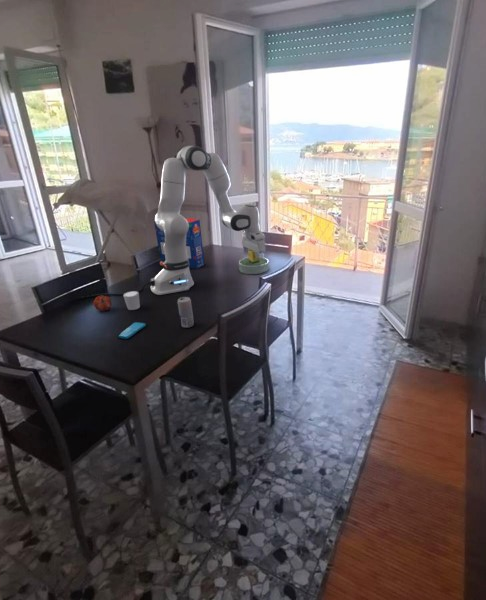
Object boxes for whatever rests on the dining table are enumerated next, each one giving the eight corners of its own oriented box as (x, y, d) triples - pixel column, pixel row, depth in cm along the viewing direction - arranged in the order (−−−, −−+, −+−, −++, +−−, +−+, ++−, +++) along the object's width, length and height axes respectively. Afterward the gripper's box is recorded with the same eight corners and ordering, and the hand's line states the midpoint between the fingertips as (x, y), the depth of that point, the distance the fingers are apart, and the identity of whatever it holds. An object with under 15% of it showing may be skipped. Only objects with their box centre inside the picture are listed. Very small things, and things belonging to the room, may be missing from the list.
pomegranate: (95, 314, 167) (92, 309, 157) (94, 299, 168) (91, 293, 159) (112, 312, 169) (110, 308, 160) (112, 298, 171) (109, 292, 162)
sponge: (114, 335, 141) (125, 336, 139) (134, 321, 152) (145, 322, 149) (115, 338, 142) (126, 339, 140) (135, 324, 152) (146, 325, 150)
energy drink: (188, 320, 153) (185, 295, 148) (196, 324, 150) (193, 298, 145) (178, 325, 149) (174, 299, 144) (186, 329, 146) (182, 303, 141)
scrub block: (252, 263, 205) (252, 252, 202) (248, 261, 209) (248, 250, 206) (259, 262, 207) (258, 250, 204) (255, 260, 211) (254, 248, 208)
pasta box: (204, 264, 220) (199, 219, 208) (196, 268, 214) (191, 222, 202) (169, 259, 232) (162, 216, 220) (161, 263, 225) (153, 219, 213)
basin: (248, 277, 199) (248, 268, 196) (233, 268, 212) (233, 260, 210) (274, 270, 207) (274, 262, 205) (258, 262, 221) (258, 254, 219)
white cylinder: (125, 311, 163) (122, 297, 160) (126, 305, 169) (123, 292, 166) (141, 309, 165) (138, 295, 162) (141, 303, 171) (139, 290, 168)
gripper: (238, 231, 207) (240, 254, 213) (257, 238, 191) (258, 262, 197) (247, 229, 210) (249, 251, 216) (266, 236, 195) (267, 260, 201)
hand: (253, 257), depth 207 cm, fingers closed on scrub block, 4 cm apart
